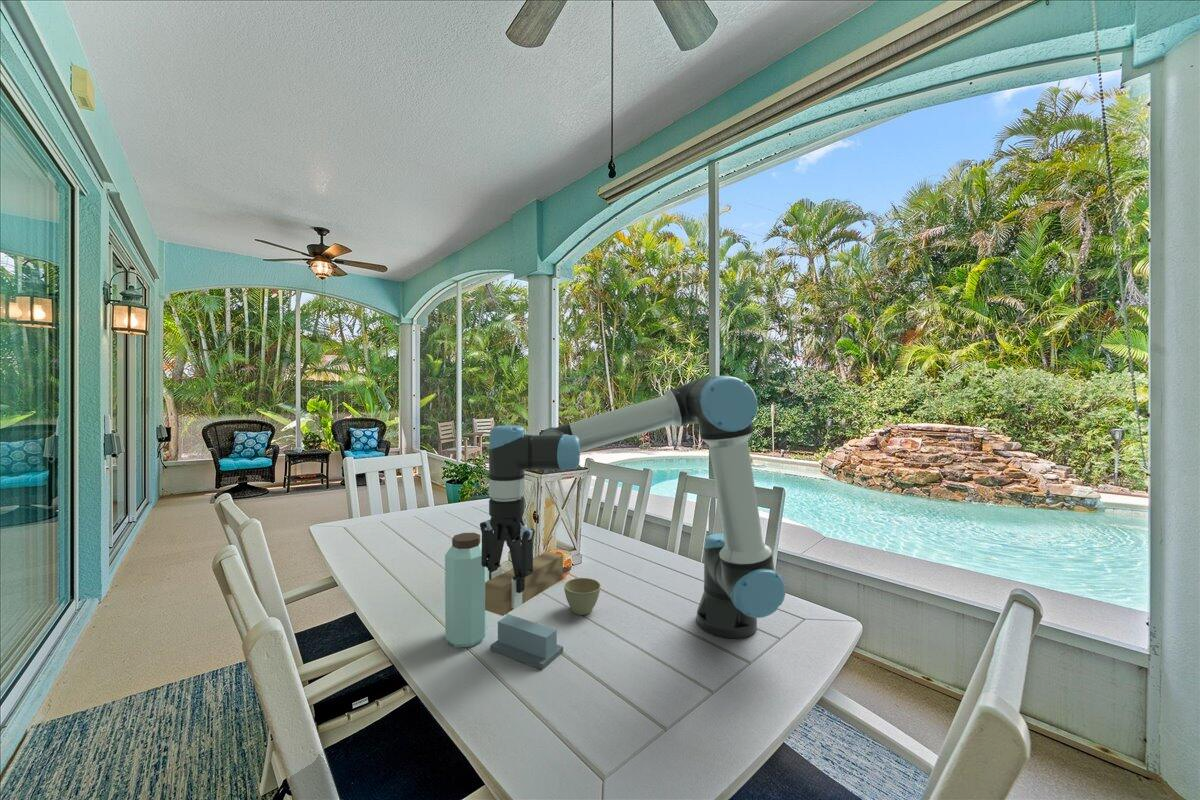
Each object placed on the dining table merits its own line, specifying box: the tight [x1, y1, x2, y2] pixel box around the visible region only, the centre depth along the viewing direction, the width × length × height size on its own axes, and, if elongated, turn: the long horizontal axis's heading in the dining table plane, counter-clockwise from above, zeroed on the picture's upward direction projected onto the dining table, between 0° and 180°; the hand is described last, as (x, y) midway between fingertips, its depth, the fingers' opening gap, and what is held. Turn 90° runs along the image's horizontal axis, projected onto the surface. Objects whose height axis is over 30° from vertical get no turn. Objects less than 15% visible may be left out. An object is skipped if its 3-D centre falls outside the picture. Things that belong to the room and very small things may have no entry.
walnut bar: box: [485, 551, 564, 617], centre depth 109 cm, size 22×5×6 cm, turn 150°
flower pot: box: [563, 577, 601, 616], centre depth 129 cm, size 10×10×7 cm
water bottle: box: [444, 532, 488, 648], centre depth 115 cm, size 10×10×25 cm
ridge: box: [489, 614, 564, 671], centre depth 110 cm, size 15×8×6 cm, turn 61°
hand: (506, 602), depth 103 cm, fingers closed on walnut bar, 5 cm apart
